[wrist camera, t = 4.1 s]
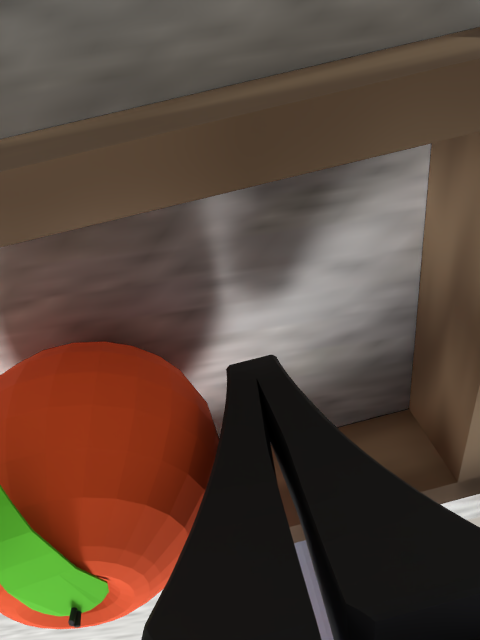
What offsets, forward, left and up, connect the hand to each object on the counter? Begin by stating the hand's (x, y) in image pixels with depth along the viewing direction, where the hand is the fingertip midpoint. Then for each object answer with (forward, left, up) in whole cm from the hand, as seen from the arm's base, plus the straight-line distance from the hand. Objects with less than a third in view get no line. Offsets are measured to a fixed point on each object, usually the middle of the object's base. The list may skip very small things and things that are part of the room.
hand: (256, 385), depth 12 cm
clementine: (0, +5, -3) cm, 6 cm away
